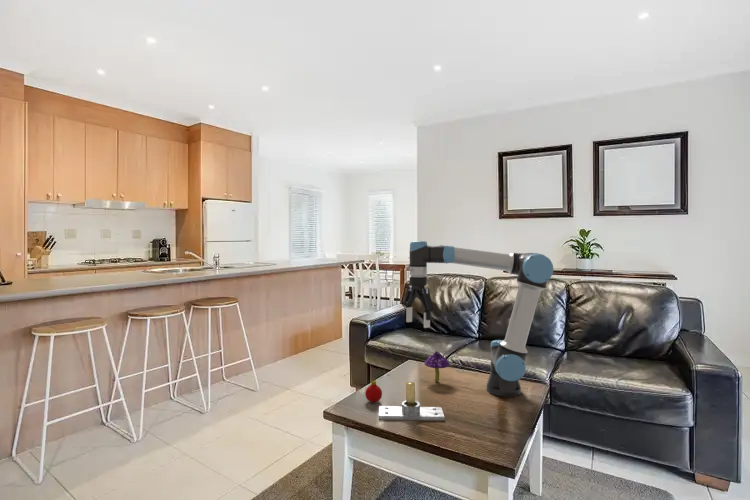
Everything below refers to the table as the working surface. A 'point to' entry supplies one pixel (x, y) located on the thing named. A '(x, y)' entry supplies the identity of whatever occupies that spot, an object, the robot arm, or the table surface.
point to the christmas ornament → (373, 392)
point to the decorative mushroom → (437, 363)
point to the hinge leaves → (410, 412)
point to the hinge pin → (410, 394)
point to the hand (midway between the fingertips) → (417, 324)
